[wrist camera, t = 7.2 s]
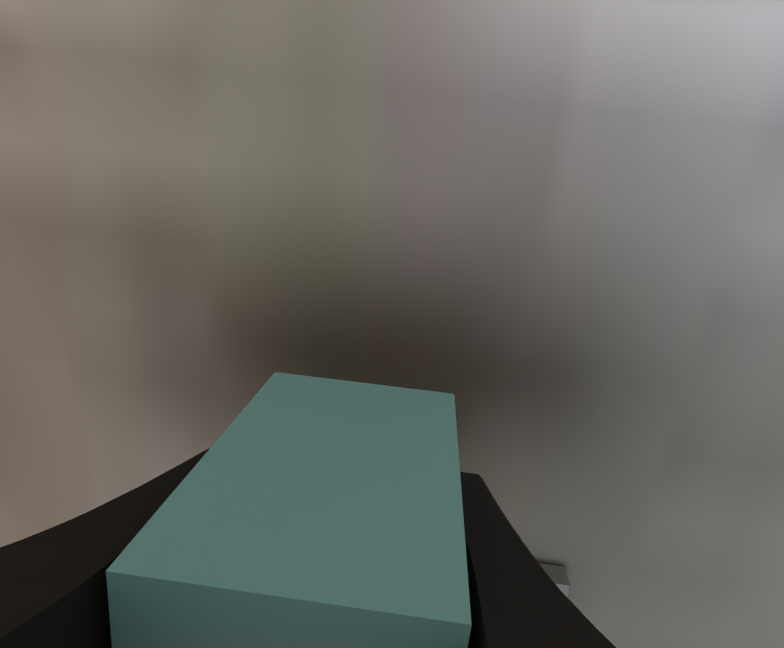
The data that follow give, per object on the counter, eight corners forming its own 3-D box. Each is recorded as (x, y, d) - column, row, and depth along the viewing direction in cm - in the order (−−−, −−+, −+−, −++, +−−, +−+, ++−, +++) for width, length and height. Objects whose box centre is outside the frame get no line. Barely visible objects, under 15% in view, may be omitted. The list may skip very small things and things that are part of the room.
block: (454, 393, 11) (471, 625, 5) (433, 546, 12) (429, 873, 6) (274, 372, 11) (105, 570, 6) (270, 523, 12) (125, 820, 7)
